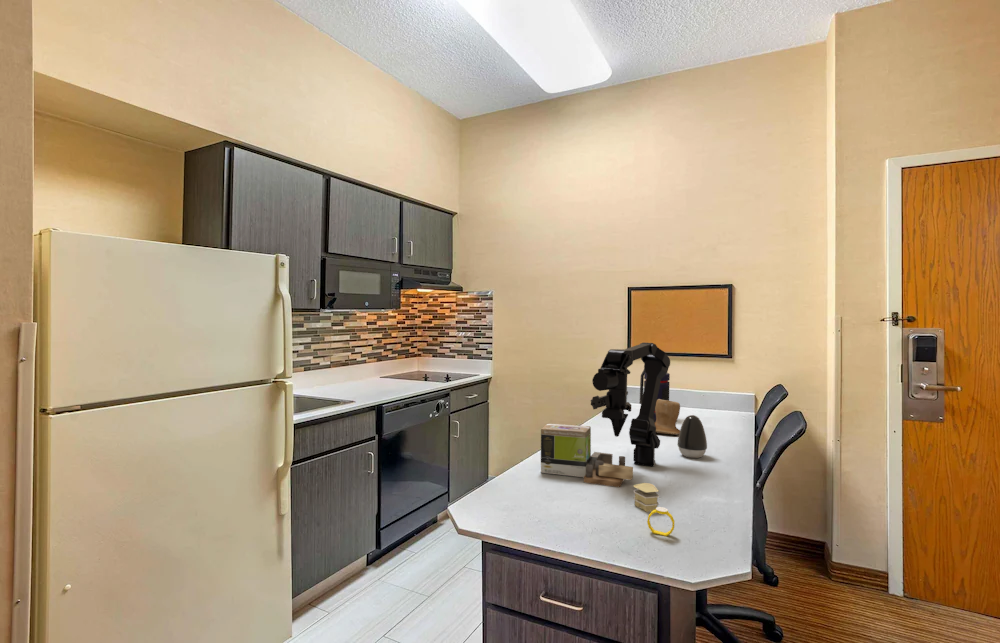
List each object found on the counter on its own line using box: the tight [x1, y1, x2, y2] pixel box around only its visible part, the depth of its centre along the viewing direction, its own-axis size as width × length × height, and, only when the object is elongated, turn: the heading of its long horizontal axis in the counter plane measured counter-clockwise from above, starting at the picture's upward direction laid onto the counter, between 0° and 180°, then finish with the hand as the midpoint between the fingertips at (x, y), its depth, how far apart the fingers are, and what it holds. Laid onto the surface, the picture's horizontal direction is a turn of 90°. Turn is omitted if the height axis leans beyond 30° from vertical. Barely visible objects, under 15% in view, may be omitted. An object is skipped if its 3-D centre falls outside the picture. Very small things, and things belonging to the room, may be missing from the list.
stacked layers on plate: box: [633, 482, 660, 513], centre depth 135 cm, size 10×9×6 cm
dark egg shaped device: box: [677, 414, 708, 459], centre depth 185 cm, size 10×10×15 cm
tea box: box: [540, 423, 592, 478], centre depth 165 cm, size 15×10×15 cm
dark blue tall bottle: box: [639, 368, 670, 423], centre depth 247 cm, size 14×12×30 cm
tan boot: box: [654, 399, 681, 435], centre depth 223 cm, size 15×12×15 cm
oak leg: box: [596, 460, 634, 481], centre depth 155 cm, size 11×3×4 cm, turn 68°
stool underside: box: [583, 455, 626, 488], centre depth 160 cm, size 11×17×5 cm, turn 158°
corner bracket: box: [590, 451, 614, 470], centre depth 165 cm, size 6×6×4 cm
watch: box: [646, 506, 676, 537], centre depth 118 cm, size 6×3×6 cm, turn 67°
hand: (616, 436), depth 163 cm, fingers closed
